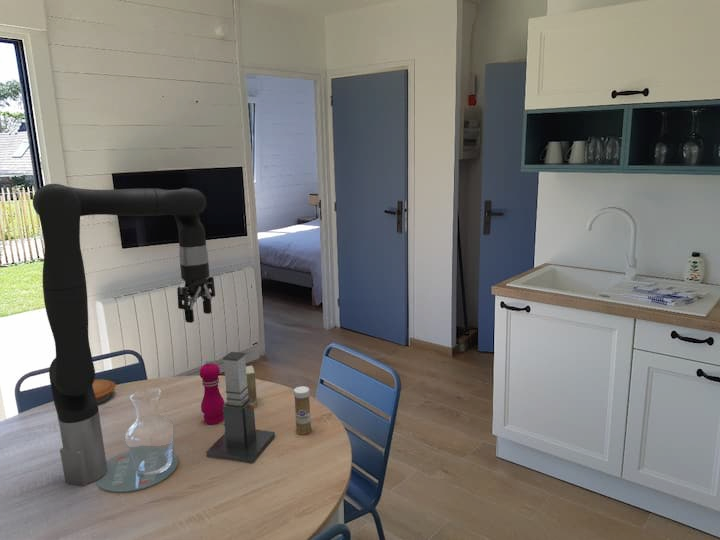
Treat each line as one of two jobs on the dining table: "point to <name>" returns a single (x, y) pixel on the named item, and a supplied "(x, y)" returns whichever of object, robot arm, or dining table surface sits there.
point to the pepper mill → (211, 394)
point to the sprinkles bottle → (302, 410)
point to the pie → (103, 389)
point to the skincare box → (251, 384)
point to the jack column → (236, 379)
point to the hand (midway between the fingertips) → (199, 317)
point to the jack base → (240, 435)
